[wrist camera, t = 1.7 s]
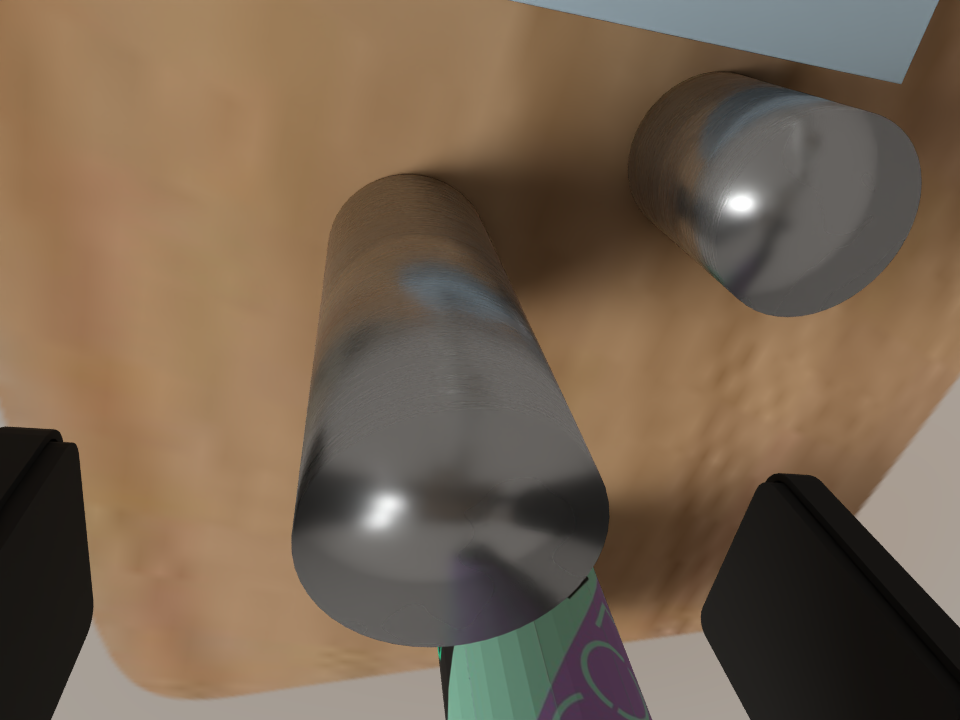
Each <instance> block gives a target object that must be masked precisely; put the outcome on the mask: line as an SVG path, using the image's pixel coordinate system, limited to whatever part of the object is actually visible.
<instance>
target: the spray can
mask: <svg viewBox="0 0 960 720" xmlns="http://www.w3.org/2000/svg"><path fill="white" fill-rule="evenodd" d="M438 654H439V664H440V672H441V682H442V690H443V700H444V709H445V718H446V720H652V719H651V716H650V713H649V711H648V708H647V706H646V703H645V700H644V698H643V695H642V692H641V690H640V687H639V685H638V682H637V679H636V677H635V674H634V672H633V669H632V667H631V664H630V661H629V659H628V656H627V654H626V651H625V649H624V646H623V643H622V641H621V638H620V635H619V633H618V630H617V628H616V625H615V623H614V620H613V617H612V615H611V612H610V610H609V607H608V604H607V602H606V599H605V597H604V594H603V591H602V589H601V586H600V584H599V581H598V578H597V576H596V573H595V571H594V568H592V569H591V571H590V572H589V574H588V575H587V576H586V578H585V579H584V580H583V581H582V583H581V584H580V585H579V586H578V587H577V588H576V589H575V590H574V591H573V592H572V593H571V594H570V595H569V596H568V597H567V598H566V599H565V600H564V601H562V602H561V603H560V604H559V605H557V606H556V607H555V608H553V609H552V610H551V611H549V612H548V613H546V614H544V615H543V616H541V617H540V618H538V619H536V620H535V621H533V622H531V623H529V624H527V625H525V626H523V627H521V628H518V629H516V630H514V631H511V632H509V633H506V634H504V635H501V636H497V637H494V638H491V639H488V640H484V641H479V642H475V643H470V644H464V645H456V646H447V647H438Z"/></svg>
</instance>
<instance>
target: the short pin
mask: <svg viewBox="0 0 960 720" xmlns="http://www.w3.org/2000/svg"><path fill="white" fill-rule="evenodd" d="M628 178H629V184H630V189H631V192H632V195H633V198H634V200H635V202H636V204H637V206H638V207H639V209H640V210H641V212H642V213H643V214H644V215H645V216H646V217H647V218H648V219H649V220H650V221H651V222H652V223H654V224H655V225H656V226H657V227H658V228H659V229H660V230H661V231H662V232H664V233H665V234H666V235H667V236H668V237H669V238H670V239H671V240H673V241H674V242H675V243H676V244H677V245H678V246H679V247H680V248H682V249H683V250H684V251H685V252H686V253H687V254H688V255H689V256H690V257H692V258H693V259H694V260H695V261H696V262H697V263H698V264H699V265H701V266H702V267H703V268H704V269H705V270H706V271H707V272H708V273H710V274H711V275H712V276H713V277H714V278H715V279H716V280H717V281H718V282H720V283H721V284H722V285H723V286H724V287H725V288H726V289H727V290H729V291H730V292H731V293H732V294H733V295H734V296H735V297H736V298H738V299H739V300H740V301H741V302H743V303H744V304H745V305H746V306H748V307H750V308H752V309H754V310H756V311H758V312H761V313H764V314H767V315H772V316H779V317H796V316H804V315H809V314H814V313H817V312H820V311H823V310H826V309H829V308H831V307H833V306H836V305H838V304H840V303H841V302H843V301H845V300H847V299H849V298H850V297H852V296H853V295H855V294H856V293H858V292H859V291H861V290H862V289H863V288H865V287H866V286H867V285H868V284H869V283H871V282H872V281H873V280H874V279H875V278H876V277H877V276H878V275H879V274H880V273H881V272H882V271H883V270H884V269H885V268H886V266H887V265H888V264H889V263H890V262H891V261H892V259H893V258H894V256H895V255H896V254H897V252H898V251H899V249H900V248H901V246H902V244H903V243H904V241H905V239H906V238H907V236H908V234H909V231H910V229H911V227H912V225H913V222H914V219H915V216H916V213H917V210H918V206H919V201H920V196H921V184H922V182H921V168H920V164H919V159H918V156H917V153H916V151H915V148H914V146H913V144H912V142H911V141H910V139H909V138H908V136H907V135H906V134H905V133H904V132H903V130H902V129H901V128H900V127H899V126H897V125H896V124H895V123H893V122H892V121H891V120H889V119H887V118H885V117H883V116H881V115H878V114H875V113H872V112H868V111H865V110H861V109H858V108H854V107H851V106H847V105H844V104H840V103H837V102H833V101H830V100H826V99H823V98H819V97H816V96H812V95H809V94H805V93H802V92H799V91H795V90H792V89H788V88H785V87H781V86H778V85H774V84H771V83H767V82H764V81H760V80H757V79H753V78H750V77H746V76H743V75H739V74H736V73H730V72H710V73H705V74H701V75H697V76H694V77H691V78H689V79H687V80H685V81H683V82H681V83H679V84H678V85H676V86H675V87H673V88H671V89H670V90H669V91H668V92H666V93H665V94H664V95H663V96H662V97H661V98H660V99H659V100H658V101H657V102H656V103H655V104H654V105H653V106H652V107H651V109H650V110H649V111H648V112H647V114H646V115H645V117H644V118H643V120H642V122H641V123H640V125H639V127H638V129H637V131H636V134H635V136H634V139H633V142H632V145H631V149H630V154H629V161H628Z"/></svg>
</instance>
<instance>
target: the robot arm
mask: <svg viewBox="0 0 960 720" xmlns="http://www.w3.org/2000/svg"><path fill="white" fill-rule="evenodd" d="M92 615H93V593H92V582H91V572H90V562H89V552H88V542H87V531H86V521H85V511H84V501H83V491H82V481H81V470H80V460H79V452H78V448H77V446H76V444H75V443H69V442H63V439H62V436H61V434H60V432H59V431H57V430H54V429H38V428H21V427H1V428H0V720H51V718H52V716H53V714H54V711H55V709H56V707H57V704H58V702H59V699H60V697H61V695H62V693H63V690H64V688H65V686H66V683H67V681H68V678H69V676H70V674H71V672H72V669H73V667H74V664H75V662H76V660H77V657H78V655H79V653H80V650H81V648H82V646H83V643H84V641H85V639H86V636H87V634H88V631H89V628H90V624H91V620H92ZM701 624H702V629H703V632H704V634H705V636H706V638H707V640H708V642H709V644H710V645H711V647H712V649H713V651H714V653H715V655H716V657H717V658H718V660H719V662H720V664H721V666H722V667H723V669H724V671H725V673H726V675H727V677H728V679H729V681H730V682H731V684H732V686H733V688H734V690H735V692H736V694H737V695H738V697H739V699H740V701H741V703H742V705H743V707H744V709H745V710H746V712H747V714H748V716H749V718H750V720H960V628H959V626H958V625H957V624H956V623H955V622H954V621H953V620H952V619H951V618H950V617H949V616H948V615H947V614H946V613H945V612H944V611H943V610H942V608H941V607H940V606H938V604H937V603H936V602H935V601H934V600H933V599H932V598H931V597H930V596H929V595H928V594H927V593H926V592H925V591H924V590H923V588H922V587H921V586H920V585H919V584H918V583H917V582H916V581H915V580H914V579H913V578H912V577H911V576H910V575H909V574H908V573H907V572H906V571H905V570H904V568H903V567H902V566H901V565H900V564H899V563H898V562H897V561H896V560H895V559H894V558H893V557H892V556H891V555H890V554H889V553H888V552H887V551H886V550H885V548H884V547H883V546H882V545H881V544H880V543H879V542H878V541H877V540H876V539H875V538H874V537H873V536H872V535H871V534H870V533H869V532H868V531H867V529H866V528H865V527H864V526H863V525H862V524H861V523H860V522H859V521H858V520H857V519H856V518H855V517H854V516H853V515H852V514H851V513H850V511H849V510H848V509H847V508H846V507H845V506H844V505H843V504H842V503H841V502H840V501H839V500H838V499H837V498H836V497H835V496H834V495H833V494H832V492H831V491H830V490H829V489H828V488H827V487H826V486H825V485H824V484H823V483H822V482H821V481H820V480H819V479H817V478H816V477H814V476H810V475H799V474H782V473H778V474H773V475H772V476H770V477H769V478H768V479H767V481H766V482H765V483H762V484H761V485H759V486H758V488H757V489H756V491H755V493H754V496H753V498H752V500H751V502H750V504H749V507H748V509H747V511H746V513H745V515H744V518H743V520H742V522H741V524H740V526H739V529H738V531H737V533H736V535H735V537H734V540H733V542H732V544H731V546H730V548H729V551H728V553H727V555H726V557H725V559H724V562H723V564H722V566H721V568H720V570H719V573H718V575H717V577H716V579H715V581H714V584H713V586H712V588H711V590H710V592H709V595H708V597H707V599H706V601H705V603H704V606H703V608H702V611H701Z"/></svg>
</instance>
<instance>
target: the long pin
mask: <svg viewBox="0 0 960 720" xmlns="http://www.w3.org/2000/svg"><path fill="white" fill-rule="evenodd" d="M608 524H609V501H608V497H607V493H606V488H605V485H604V483H603V481H602V478H601V476H600V474H599V472H598V469H597V467H596V465H595V463H594V461H593V459H592V457H591V454H590V452H589V450H588V448H587V446H586V444H585V442H584V439H583V437H582V435H581V433H580V431H579V429H578V427H577V424H576V422H575V420H574V418H573V416H572V414H571V412H570V409H569V407H568V405H567V403H566V401H565V399H564V397H563V395H562V392H561V390H560V388H559V386H558V384H557V382H556V380H555V377H554V375H553V373H552V371H551V369H550V367H549V365H548V362H547V360H546V358H545V356H544V354H543V352H542V350H541V347H540V345H539V343H538V341H537V339H536V337H535V335H534V332H533V330H532V328H531V326H530V324H529V322H528V320H527V317H526V315H525V313H524V311H523V309H522V307H521V305H520V302H519V300H518V298H517V296H516V294H515V292H514V290H513V287H512V285H511V283H510V281H509V279H508V277H507V275H506V272H505V270H504V268H503V266H502V264H501V262H500V260H499V257H498V255H497V253H496V251H495V249H494V247H493V245H492V242H491V240H490V238H489V236H488V234H487V232H486V230H485V227H484V225H483V223H482V221H481V219H480V217H479V215H478V213H477V212H476V210H475V208H474V207H473V206H472V205H471V203H470V202H469V201H468V200H467V199H466V198H465V197H464V196H463V195H462V194H461V193H460V192H458V191H457V190H456V189H454V188H453V187H451V186H450V185H448V184H446V183H444V182H442V181H439V180H436V179H434V178H431V177H426V176H422V175H411V174H406V175H395V176H389V177H385V178H382V179H379V180H376V181H374V182H372V183H370V184H368V185H366V186H365V187H363V188H362V189H360V190H359V191H357V192H356V193H355V194H354V195H353V196H352V197H350V198H349V199H348V201H347V202H346V203H345V204H344V205H343V206H342V208H341V210H340V211H339V213H338V214H337V216H336V218H335V220H334V222H333V225H332V228H331V231H330V235H329V242H328V249H327V257H326V265H325V273H324V281H323V289H322V297H321V305H320V313H319V321H318V329H317V337H316V345H315V353H314V361H313V369H312V377H311V385H310V393H309V401H308V409H307V417H306V425H305V433H304V441H303V449H302V457H301V465H300V473H299V481H298V489H297V497H296V505H295V513H294V521H293V529H292V556H293V561H294V566H295V569H296V572H297V574H298V577H299V579H300V582H301V584H302V585H303V587H304V588H305V590H306V592H307V593H308V595H309V596H310V597H311V599H312V600H313V601H314V602H315V603H316V604H317V605H318V607H319V608H320V609H322V610H323V611H324V612H325V613H326V614H328V615H329V616H330V617H331V618H332V619H334V620H336V621H337V622H339V623H340V624H342V625H343V626H345V627H347V628H349V629H351V630H353V631H355V632H357V633H359V634H362V635H364V636H367V637H370V638H373V639H376V640H379V641H384V642H388V643H392V644H398V645H405V646H413V647H447V646H456V645H464V644H470V643H475V642H479V641H484V640H488V639H491V638H494V637H497V636H501V635H504V634H506V633H509V632H511V631H514V630H516V629H518V628H521V627H523V626H525V625H527V624H529V623H531V622H533V621H535V620H536V619H538V618H540V617H541V616H543V615H544V614H546V613H548V612H549V611H551V610H552V609H553V608H555V607H556V606H557V605H559V604H560V603H561V602H562V601H564V600H565V599H566V598H567V597H568V596H569V595H570V594H571V593H572V592H573V591H574V590H575V589H576V588H577V587H578V586H579V585H580V584H581V583H582V581H583V580H584V579H585V578H586V576H587V575H588V574H589V572H590V571H591V569H592V568H593V566H594V564H595V563H596V561H597V559H598V557H599V555H600V553H601V551H602V548H603V546H604V542H605V539H606V535H607V532H608Z"/></svg>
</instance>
